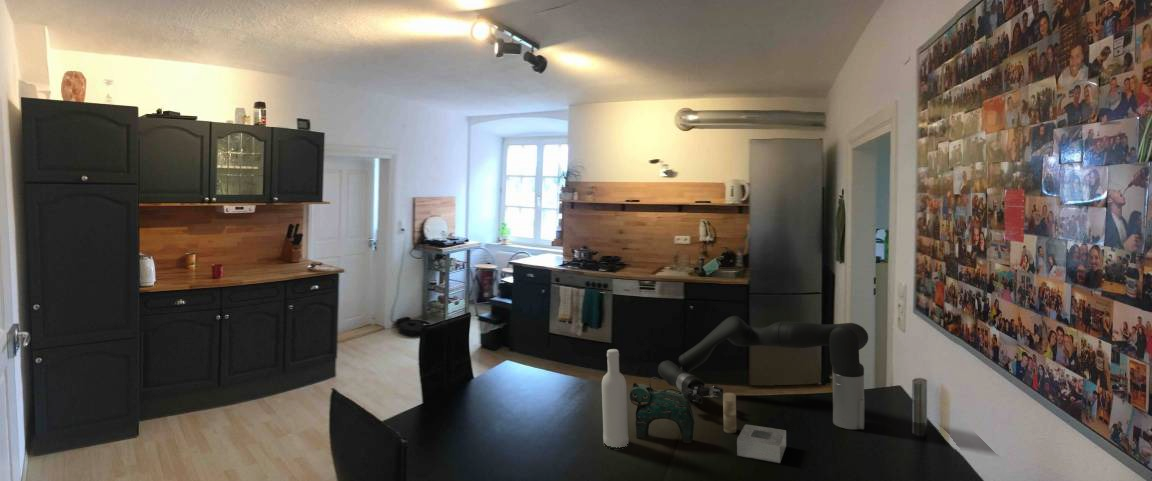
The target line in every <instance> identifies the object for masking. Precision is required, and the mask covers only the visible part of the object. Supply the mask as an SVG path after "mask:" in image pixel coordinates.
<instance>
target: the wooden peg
mask: <svg viewBox="0 0 1152 481" xmlns="http://www.w3.org/2000/svg"><path fill="white" fill-rule="evenodd" d="M722 406H723V408H722V409H723V410H722V413H723V414H722V415H723V432H724V433H727V434H735V433H737V395H736V393H733V392H723V401H722Z"/></svg>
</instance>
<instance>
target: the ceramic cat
mask: <svg viewBox="0 0 1152 481" xmlns="http://www.w3.org/2000/svg"><path fill="white" fill-rule="evenodd" d="M653 379H656V380H658V381H659V382H660V383H661V379H660V378H659V377H655V376H653V377H651V378H650V379H649V385H647V384H644V383H639V384H637V383H636V382H634V383H633V384H632V389H631V391H630V392H629V400H630V402H631V403H632V404H633V405H634V406H637V407H636V409H635V422H634V423H635V432H636V434H635V435H636V437H638V438H637V439H641V438H645V439H646V437H647V438H648V435H649V428H650V425H651V423H652V422H653V421H656V420H664V419H665V420H669V421H673V422H674V423H676V425H677V426H678V429H679V431H680V435H681V442H682V443H684V444H692V442H693V439H694V430H695V418H694V413H693V410H692V406H691V404H690V401H689V400H688V398H687V396H686V395H685V394H684V393H683V392H681V391H680V390H679V389H677V388H676V389H674V388H667V389H663V390H656V389H653V388H652V386H651V385H652V384H651V380H653ZM681 393H682V394H683V395H684V396H685V397H686V398H687V399H686V398H685V397H683V396H682V395H681ZM687 400H688V401H687Z"/></svg>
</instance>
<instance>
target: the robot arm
mask: <svg viewBox="0 0 1152 481" xmlns="http://www.w3.org/2000/svg"><path fill="white" fill-rule="evenodd" d="M725 340H728V341H729V342H730V343H731V344H732V345H734V346H737V347H752V346H753V347H756V346H757V347H758V346H761V347H773V348H775V347H776V348H785V349H806V348H815V347H823V346H824V347H827V346H828V347H829V361H830V365H831V367H832V423H833V424H834V425H835V426H836V427H839V428H843V429H846V430H864V429H865V367H864V365H863V364H862V363H861V362H860V350H862V349H863V348H864V347H865V346H866V345H867V344H868V341H869V334H868V331H867V330H866V329H865V328H864V327H863V326H861V325H860V324H858V323H854V322H845V323H832V324H831V323H830V324H827V323H826V324H825V323H824V324H822V323H821V324H820V323H813V322H811V323H810V322H802V321H801V322H800V321H777V322H773V323H772V324H771V325H768V326H766V327H758V326H751V325H748V324H747V323H746V322H745V321H744V320H743V319H742V318H741V317H739V316H738V315H731V316H729V317H727V318H725V319H724V320H723V321H721V322H720V323H719V324H718V325H717V326H716V327H715V328H713V330H711V332H710V333H708V334H707V335H706V336H705V337H704V338H703V339H702V340H701V341H700V342H698V343H697V344H696V345H694V346H693V347H692V348H690V349H688V350H686V351H685V352H684V353H682V354H681V355H679V357H678V362H679V364H680V367H679V366H678V365H676V363H674V362H673V361H671V360H669V359H668V360H664V361H661V362H660V363H659V364H658V366H657V373H658V374H659V376H660V377H661V378H662V379H663V380H664V381H665V382H666V383H667V384H668V385H669V386H672V387H673V386H674V387H675V388H676V389H677V390H679V391H681V392H683V393H684V394H685V395H686V396H687V398H688V400H689V402H691V401H692V402H696V403H698V404H700V405H702V404H703V401H704V400H703V399H704V398H711V399H713V398H714V397H715V398H717V399H719V400H720V401H722V402H723V394H724V388H723V387H721V386H718V385H717V384H711V386H707V385H705V383H704V381H703V379H700V378H698V377H697V376H695V375H694V374H691V373H690V372H692V370H694V369H696V368H697V367H699V366H700V365H702V364H704V363H705V362H706V361H707V360H708V359H709V357H710V355H711V354H712V352H713V351H714V349H715V348H716V346H717V345H718V344H720V343H722V342H723V341H725ZM680 394H681V395H682V396H683V397H685V396H684V395H683V394H682V393H680ZM685 398H686V397H685ZM687 398H686V399H687ZM688 400H687V401H688Z"/></svg>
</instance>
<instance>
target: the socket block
mask: <svg viewBox="0 0 1152 481" xmlns="http://www.w3.org/2000/svg"><path fill="white" fill-rule="evenodd" d="M786 448H787V429H786V430H785V429H779V428H773V427H765V426H758V425H753V424H744V426H743V427H742V429H741V431H740V432H739V434H738V436H737V438H736V453H737V454H736V455H737V456H738V457H743V458H749V459H754V460H759V461H766V462H771V463H775V464H776V463H777V464H781V463H782V462H781V461H782V459H783V456H784V453H785V451H786Z"/></svg>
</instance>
